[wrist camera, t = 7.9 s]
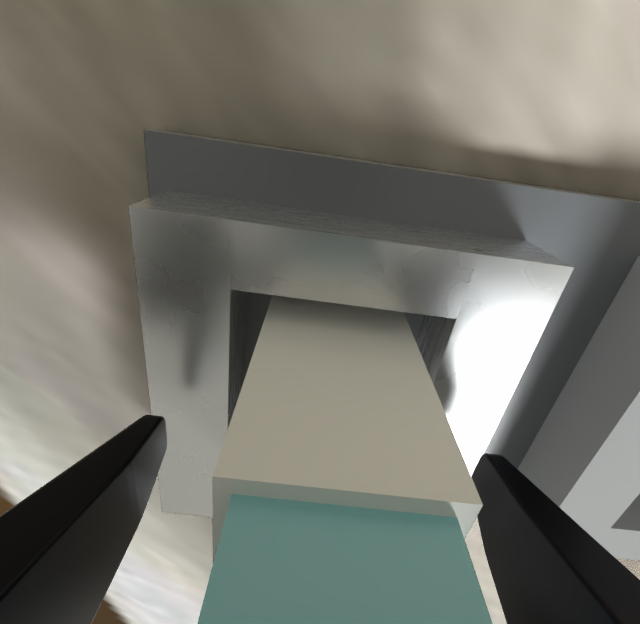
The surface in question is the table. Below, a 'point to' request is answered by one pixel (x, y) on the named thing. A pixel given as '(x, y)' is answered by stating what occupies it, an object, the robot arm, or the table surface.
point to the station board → (441, 212)
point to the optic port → (327, 286)
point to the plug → (340, 481)
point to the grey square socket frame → (598, 432)
